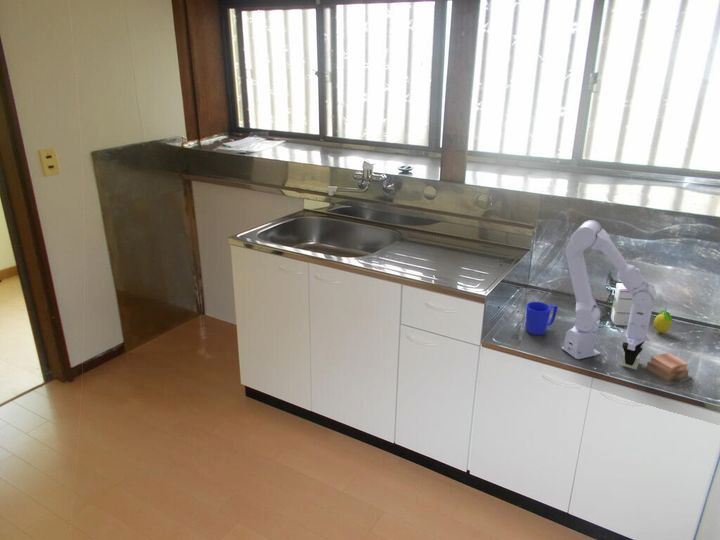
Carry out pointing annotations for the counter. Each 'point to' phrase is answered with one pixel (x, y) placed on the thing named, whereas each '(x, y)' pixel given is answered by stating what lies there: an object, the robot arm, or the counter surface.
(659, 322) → the lemon
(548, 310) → the mug
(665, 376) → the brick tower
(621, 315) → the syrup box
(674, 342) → the counter surface
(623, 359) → the sage brick
